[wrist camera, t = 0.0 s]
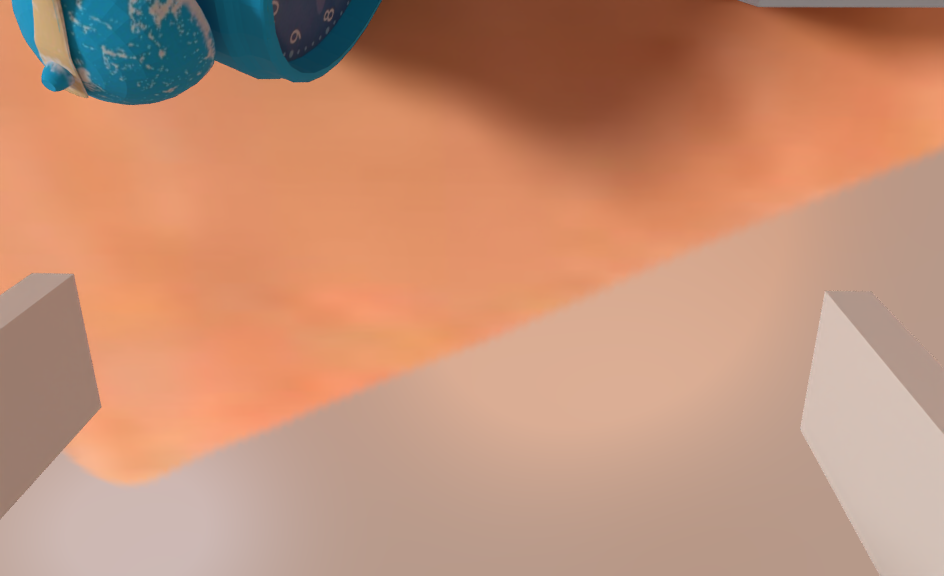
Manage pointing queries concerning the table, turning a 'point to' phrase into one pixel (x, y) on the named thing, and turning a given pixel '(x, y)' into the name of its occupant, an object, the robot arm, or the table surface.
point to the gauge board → (845, 3)
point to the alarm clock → (184, 42)
